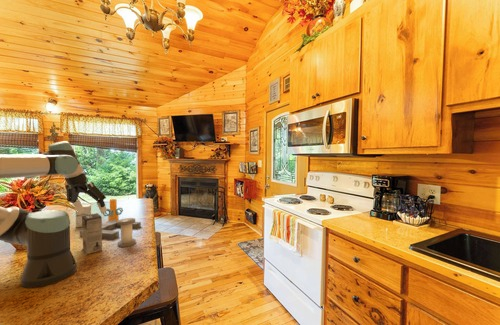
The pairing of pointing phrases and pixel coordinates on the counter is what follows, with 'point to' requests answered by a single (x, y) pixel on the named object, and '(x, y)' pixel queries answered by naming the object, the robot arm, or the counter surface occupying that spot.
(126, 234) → the spool
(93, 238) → the coffee box
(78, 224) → the supplement box
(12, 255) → the counter surface
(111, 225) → the notched board
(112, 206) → the grey orange looped piece
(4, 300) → the counter surface
